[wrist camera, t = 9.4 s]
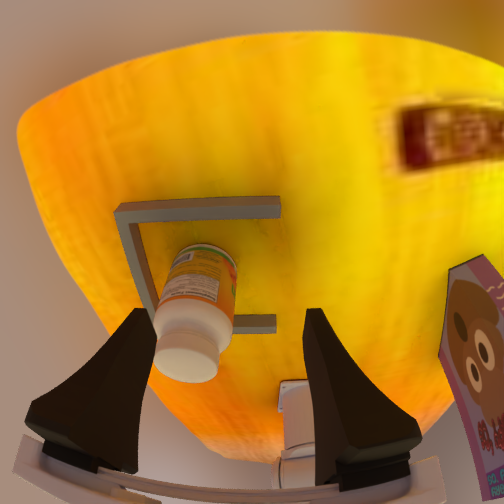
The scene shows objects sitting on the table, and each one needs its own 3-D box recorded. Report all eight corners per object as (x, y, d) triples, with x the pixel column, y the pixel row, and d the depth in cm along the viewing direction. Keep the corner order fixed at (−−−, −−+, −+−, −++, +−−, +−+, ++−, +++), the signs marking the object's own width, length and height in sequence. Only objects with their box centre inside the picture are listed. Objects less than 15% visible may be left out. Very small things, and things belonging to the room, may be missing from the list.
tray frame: (275, 321, 28) (276, 333, 26) (156, 320, 28) (153, 331, 27) (279, 195, 20) (280, 205, 19) (121, 203, 21) (113, 212, 19)
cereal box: (448, 269, 24) (547, 486, 4) (482, 253, 23) (588, 448, 3) (437, 356, 33) (482, 502, 13) (464, 343, 32) (514, 483, 12)
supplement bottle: (230, 298, 26) (221, 394, 18) (171, 285, 25) (143, 378, 17) (244, 249, 23) (238, 352, 15) (177, 235, 22) (140, 331, 14)
